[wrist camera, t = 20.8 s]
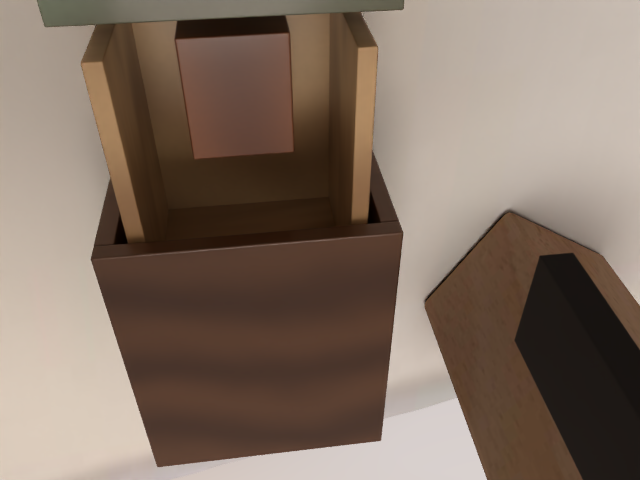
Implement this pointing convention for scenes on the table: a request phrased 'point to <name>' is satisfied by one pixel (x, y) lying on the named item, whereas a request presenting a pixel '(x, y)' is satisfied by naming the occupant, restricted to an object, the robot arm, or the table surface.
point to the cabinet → (255, 333)
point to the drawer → (241, 171)
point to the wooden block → (510, 347)
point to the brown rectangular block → (237, 85)
